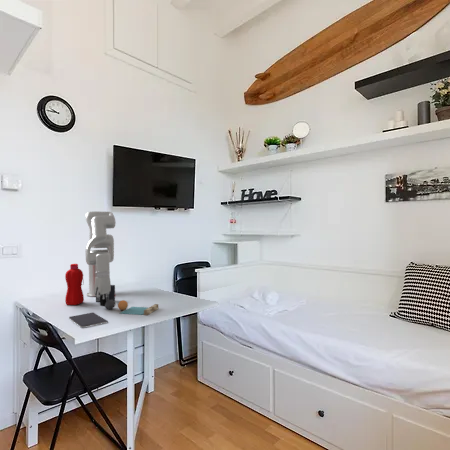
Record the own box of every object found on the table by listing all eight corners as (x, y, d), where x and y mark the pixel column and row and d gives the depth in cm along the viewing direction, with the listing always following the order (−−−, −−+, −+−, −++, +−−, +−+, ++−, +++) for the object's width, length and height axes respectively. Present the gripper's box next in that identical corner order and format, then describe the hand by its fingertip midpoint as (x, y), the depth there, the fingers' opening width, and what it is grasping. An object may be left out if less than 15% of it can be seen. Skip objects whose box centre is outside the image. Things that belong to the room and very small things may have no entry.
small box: (115, 300, 208) (115, 284, 208) (109, 303, 201) (109, 286, 201) (101, 299, 211) (101, 284, 211) (95, 302, 204) (95, 285, 204)
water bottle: (78, 306, 195) (78, 265, 195) (63, 305, 197) (62, 264, 197) (88, 302, 204) (87, 263, 204) (73, 301, 206) (72, 262, 206)
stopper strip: (155, 308, 188) (155, 304, 188) (158, 308, 188) (158, 304, 188) (143, 315, 175) (143, 310, 175) (147, 315, 174) (147, 310, 174)
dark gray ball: (109, 297, 190) (117, 299, 189) (108, 306, 191) (116, 308, 189) (103, 300, 185) (111, 302, 183) (102, 309, 185) (110, 311, 184)
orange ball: (121, 308, 189) (121, 299, 189) (129, 308, 187) (129, 299, 187) (116, 310, 183) (115, 301, 183) (124, 311, 182) (124, 301, 182)
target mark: (132, 306, 192) (132, 306, 192) (153, 308, 189) (153, 307, 189) (119, 313, 178) (119, 313, 178) (142, 314, 175) (142, 314, 175)
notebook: (107, 323, 162) (93, 315, 178) (107, 320, 162) (93, 312, 178) (81, 329, 153) (68, 319, 169) (81, 326, 153) (68, 316, 169)
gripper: (105, 272, 196) (105, 302, 196) (88, 276, 182) (89, 308, 182) (115, 272, 194) (116, 303, 194) (100, 276, 180) (100, 309, 180)
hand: (103, 305), depth 188 cm, fingers closed
